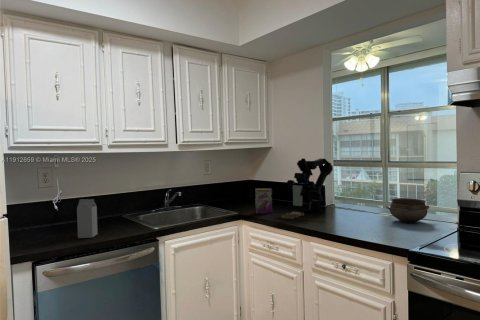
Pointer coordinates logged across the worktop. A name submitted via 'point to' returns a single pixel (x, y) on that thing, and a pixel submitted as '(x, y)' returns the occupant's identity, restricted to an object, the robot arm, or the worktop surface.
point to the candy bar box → (263, 201)
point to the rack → (292, 215)
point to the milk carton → (87, 218)
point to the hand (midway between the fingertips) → (296, 195)
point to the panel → (297, 195)
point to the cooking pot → (408, 209)
